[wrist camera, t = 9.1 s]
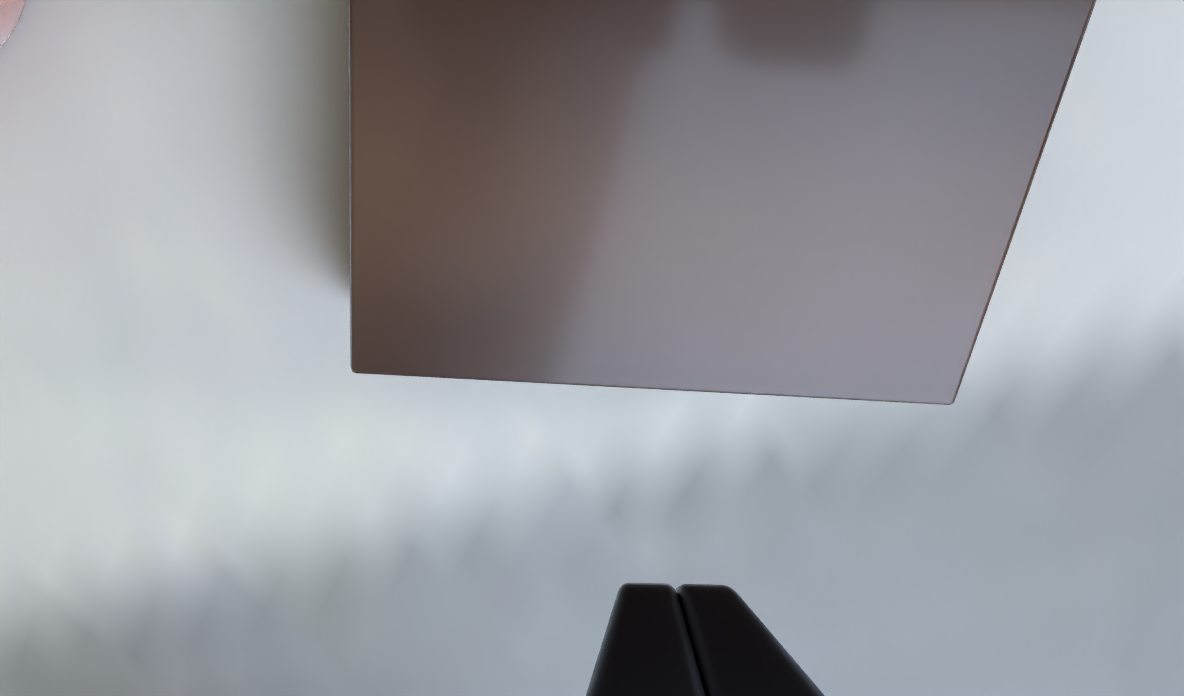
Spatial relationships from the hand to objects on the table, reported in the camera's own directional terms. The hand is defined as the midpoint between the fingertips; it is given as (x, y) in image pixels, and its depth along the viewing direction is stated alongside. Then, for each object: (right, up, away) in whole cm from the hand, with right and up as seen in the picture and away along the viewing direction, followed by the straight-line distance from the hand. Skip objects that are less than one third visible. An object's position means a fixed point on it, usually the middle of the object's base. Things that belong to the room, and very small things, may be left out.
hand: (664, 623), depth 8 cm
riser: (+1, +8, +8) cm, 11 cm away
